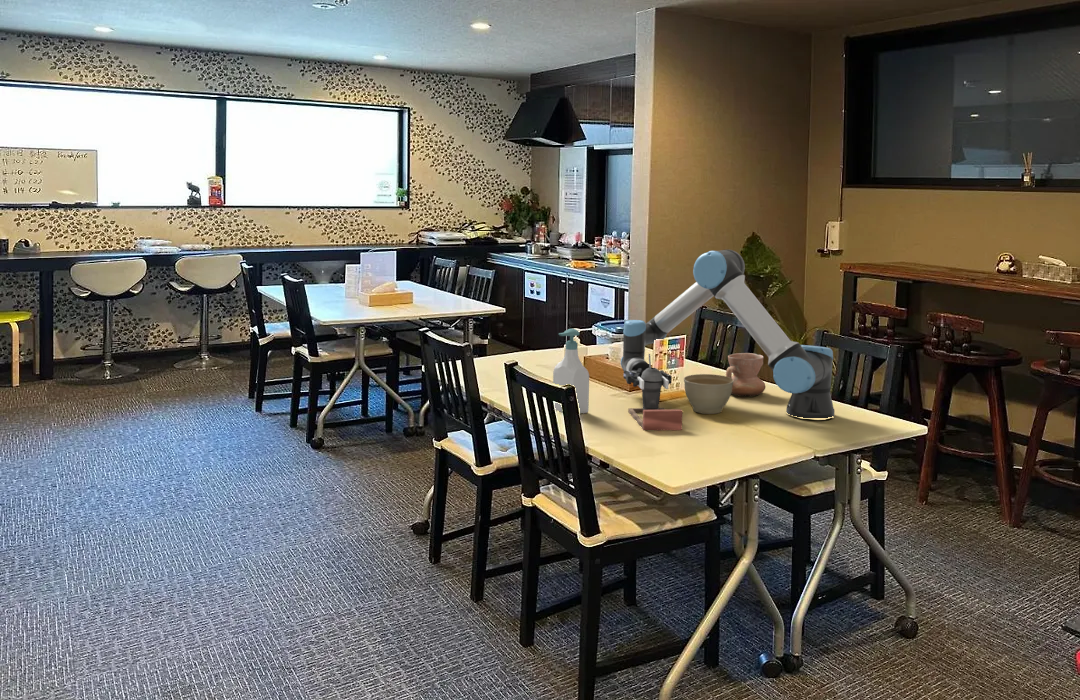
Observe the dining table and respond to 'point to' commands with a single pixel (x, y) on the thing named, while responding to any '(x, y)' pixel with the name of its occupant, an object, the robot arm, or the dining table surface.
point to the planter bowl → (708, 392)
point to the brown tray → (658, 418)
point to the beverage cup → (651, 387)
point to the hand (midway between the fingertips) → (655, 384)
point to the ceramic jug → (745, 374)
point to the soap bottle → (573, 372)
